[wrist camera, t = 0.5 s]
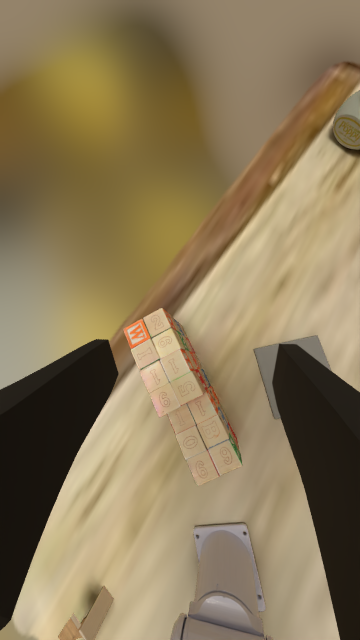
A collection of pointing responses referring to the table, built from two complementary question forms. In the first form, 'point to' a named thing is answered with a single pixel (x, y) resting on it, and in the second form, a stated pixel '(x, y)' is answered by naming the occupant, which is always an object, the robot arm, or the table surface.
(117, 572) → the table surface
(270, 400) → the slate mat
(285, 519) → the table surface
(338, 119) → the air freshener
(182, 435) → the stack of blocks
